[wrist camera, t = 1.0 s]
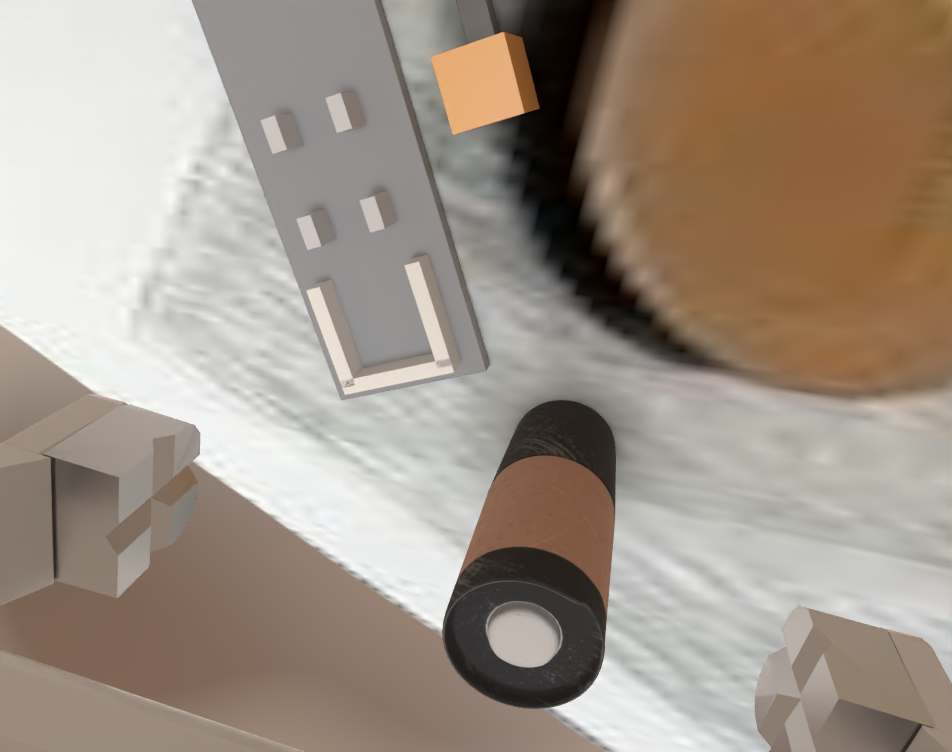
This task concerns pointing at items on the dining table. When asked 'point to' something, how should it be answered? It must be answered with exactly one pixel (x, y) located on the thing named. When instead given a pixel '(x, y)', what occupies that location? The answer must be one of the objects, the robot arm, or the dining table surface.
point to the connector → (484, 72)
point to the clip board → (348, 187)
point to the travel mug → (539, 564)
